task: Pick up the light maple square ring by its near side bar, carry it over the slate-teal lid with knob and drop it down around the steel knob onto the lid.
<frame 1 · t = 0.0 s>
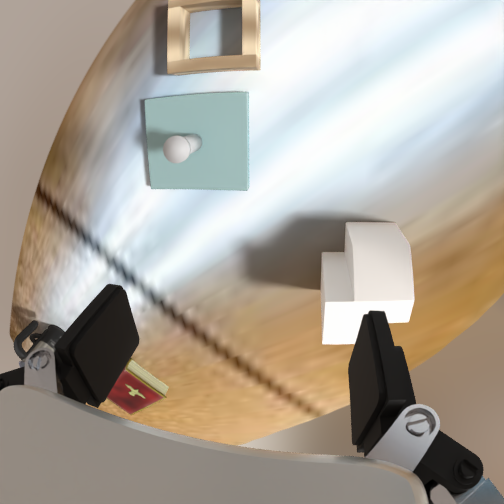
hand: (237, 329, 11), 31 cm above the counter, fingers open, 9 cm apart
corner bracket: (356, 257, 43), on the counter
hardcover book: (134, 383, 70), on the counter
milk frother: (54, 338, 68), on the counter
lid with knob: (197, 140, 39), on the counter
ring: (217, 34, 31), on the counter
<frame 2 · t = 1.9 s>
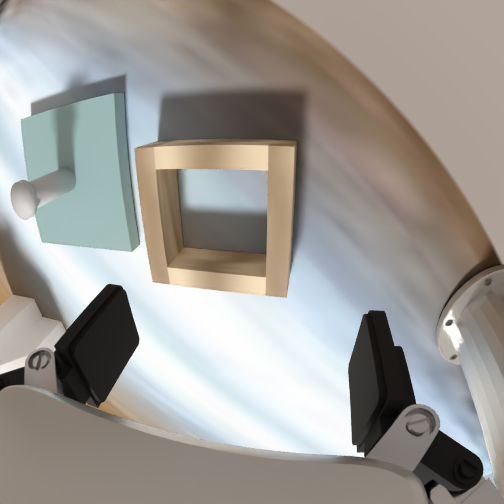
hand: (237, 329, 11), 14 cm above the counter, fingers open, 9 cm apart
corner bracket: (44, 325, 39), on the counter
lid with knob: (76, 175, 25), on the counter
ring: (224, 207, 24), on the counter
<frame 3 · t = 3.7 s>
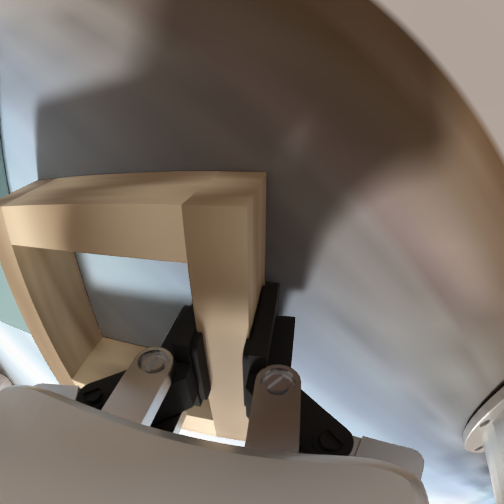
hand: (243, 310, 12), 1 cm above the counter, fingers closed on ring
ring: (145, 291, 13), on the counter, touching gripper
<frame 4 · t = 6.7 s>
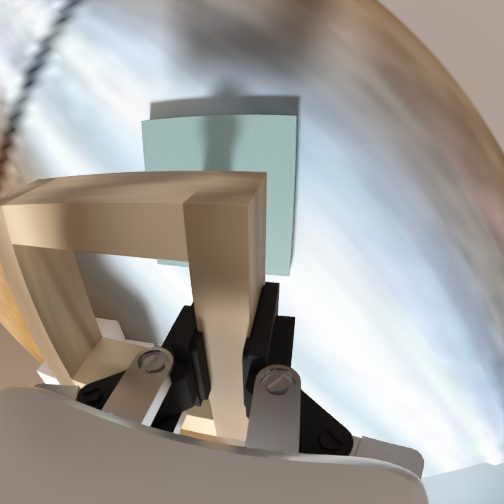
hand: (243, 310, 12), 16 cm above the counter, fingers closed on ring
corner bracket: (125, 347, 40), on the counter
lid with knob: (220, 193, 27), on the counter
ring: (145, 290, 13), point 15 cm above the counter, touching gripper
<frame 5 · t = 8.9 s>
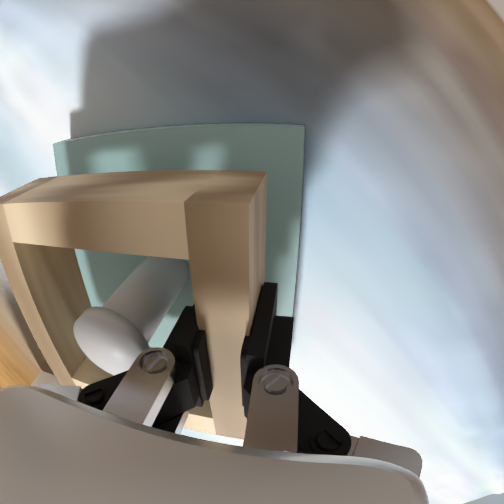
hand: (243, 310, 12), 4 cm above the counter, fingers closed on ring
lid with knob: (177, 255, 17), on the counter
ring: (145, 289, 13), point 4 cm above the counter, touching gripper
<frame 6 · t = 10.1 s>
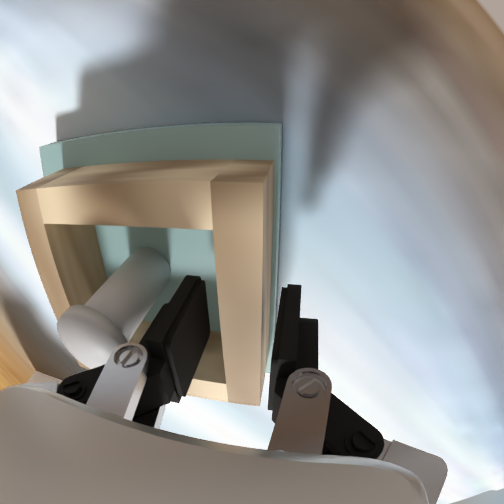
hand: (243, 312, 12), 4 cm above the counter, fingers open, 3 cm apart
lid with knob: (161, 254, 17), on the counter
ring: (163, 268, 15), point 1 cm above the counter, touching lid with knob
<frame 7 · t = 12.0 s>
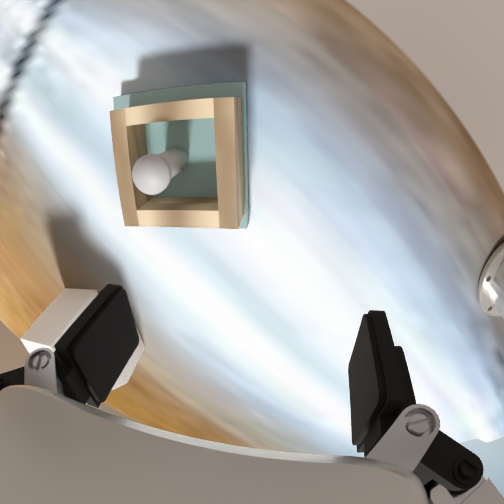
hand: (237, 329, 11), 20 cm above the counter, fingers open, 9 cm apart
corner bracket: (104, 317, 42), on the counter
lid with knob: (182, 156, 29), on the counter
ring: (184, 158, 27), point 1 cm above the counter, touching lid with knob
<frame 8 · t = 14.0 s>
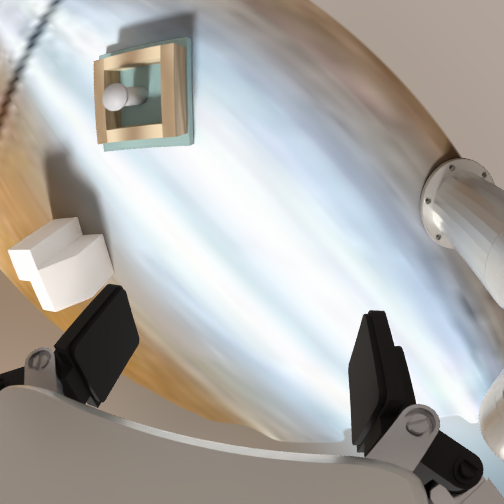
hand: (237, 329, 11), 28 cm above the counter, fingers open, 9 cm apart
corner bracket: (82, 245, 47), on the counter
lid with knob: (145, 95, 34), on the counter
ring: (145, 94, 32), point 1 cm above the counter, touching lid with knob
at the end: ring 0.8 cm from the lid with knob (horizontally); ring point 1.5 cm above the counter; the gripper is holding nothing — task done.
